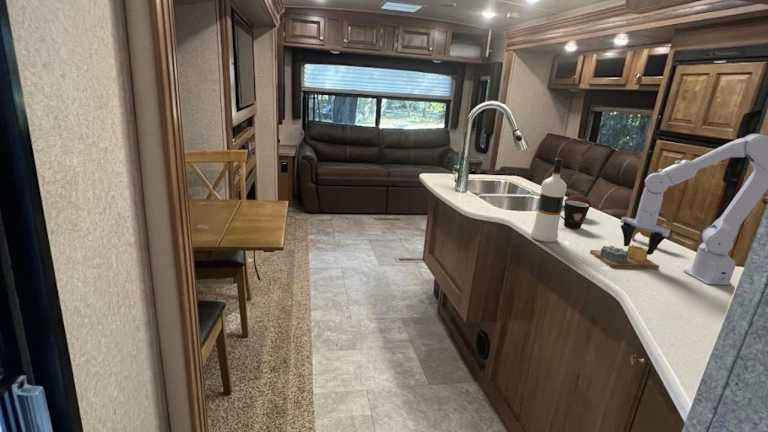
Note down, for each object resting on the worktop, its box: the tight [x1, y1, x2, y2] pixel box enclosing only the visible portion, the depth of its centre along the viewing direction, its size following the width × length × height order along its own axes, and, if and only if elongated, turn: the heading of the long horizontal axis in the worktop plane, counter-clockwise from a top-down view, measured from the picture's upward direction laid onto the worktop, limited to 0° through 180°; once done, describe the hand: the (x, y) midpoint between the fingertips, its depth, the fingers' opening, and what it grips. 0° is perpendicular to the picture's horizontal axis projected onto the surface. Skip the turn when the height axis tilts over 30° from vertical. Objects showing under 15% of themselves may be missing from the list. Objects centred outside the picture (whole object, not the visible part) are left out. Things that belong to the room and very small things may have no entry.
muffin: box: [563, 193, 592, 220], centre depth 182 cm, size 12×11×10 cm
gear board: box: [589, 245, 660, 270], centre depth 133 cm, size 12×16×4 cm
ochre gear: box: [626, 244, 649, 262], centre depth 134 cm, size 6×6×4 cm
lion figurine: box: [631, 224, 671, 247], centre depth 152 cm, size 15×5×9 cm, turn 35°
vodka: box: [530, 157, 567, 244], centre depth 146 cm, size 9×9×30 cm
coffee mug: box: [560, 201, 589, 230], centre depth 167 cm, size 12×9×10 cm
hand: (637, 249), depth 133 cm, fingers open, 7 cm apart
